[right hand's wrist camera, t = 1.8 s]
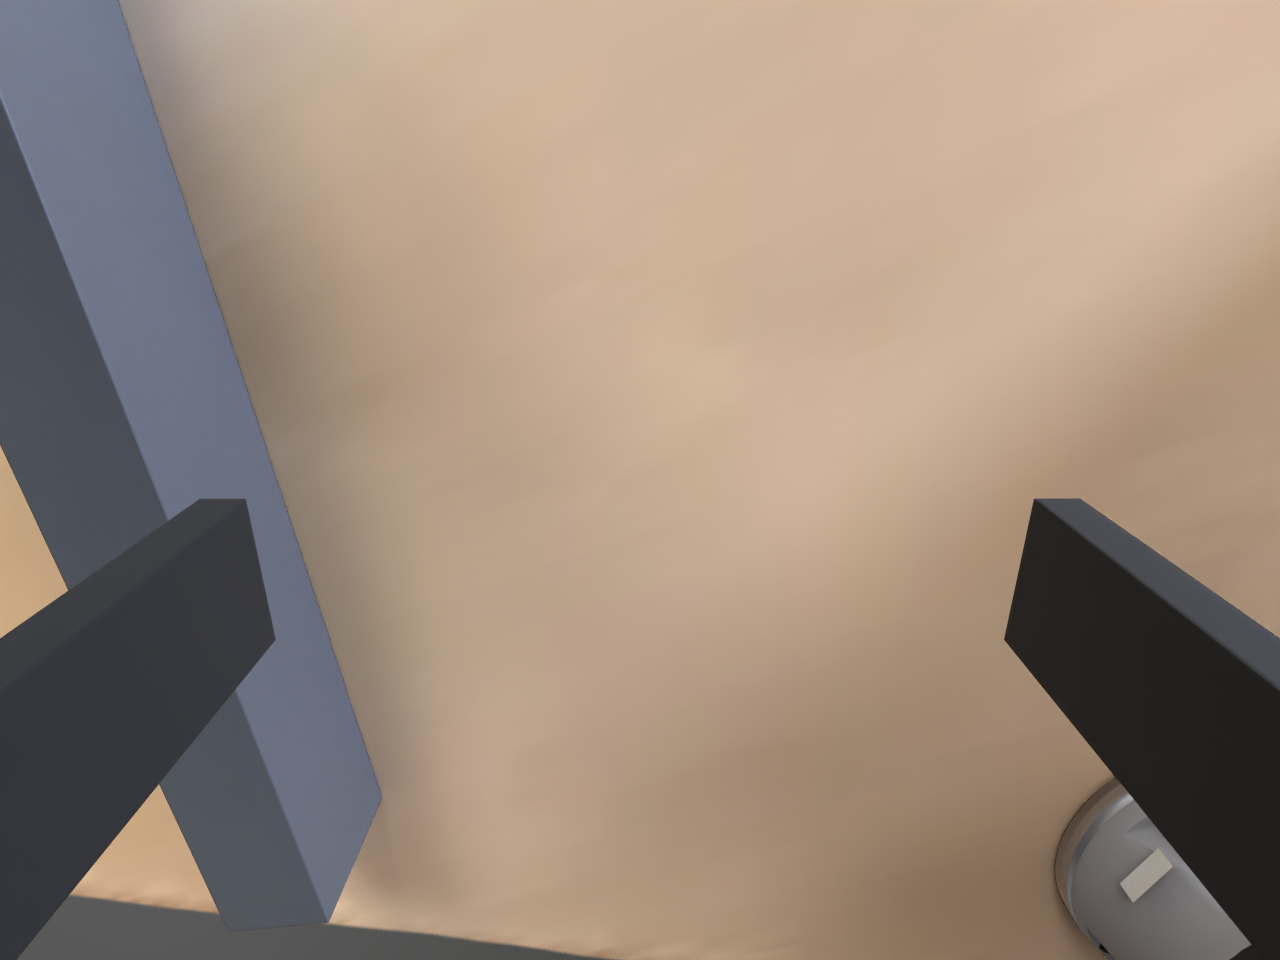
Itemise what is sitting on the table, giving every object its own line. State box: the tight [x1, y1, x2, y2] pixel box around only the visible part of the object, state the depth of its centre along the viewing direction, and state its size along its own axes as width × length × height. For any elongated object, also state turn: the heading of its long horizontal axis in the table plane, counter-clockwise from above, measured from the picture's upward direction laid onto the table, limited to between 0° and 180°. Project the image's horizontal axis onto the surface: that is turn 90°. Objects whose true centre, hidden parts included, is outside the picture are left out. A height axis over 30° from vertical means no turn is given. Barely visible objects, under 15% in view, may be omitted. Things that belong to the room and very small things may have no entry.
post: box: [0, 0, 382, 932], centre depth 28 cm, size 53×5×8 cm, turn 7°
